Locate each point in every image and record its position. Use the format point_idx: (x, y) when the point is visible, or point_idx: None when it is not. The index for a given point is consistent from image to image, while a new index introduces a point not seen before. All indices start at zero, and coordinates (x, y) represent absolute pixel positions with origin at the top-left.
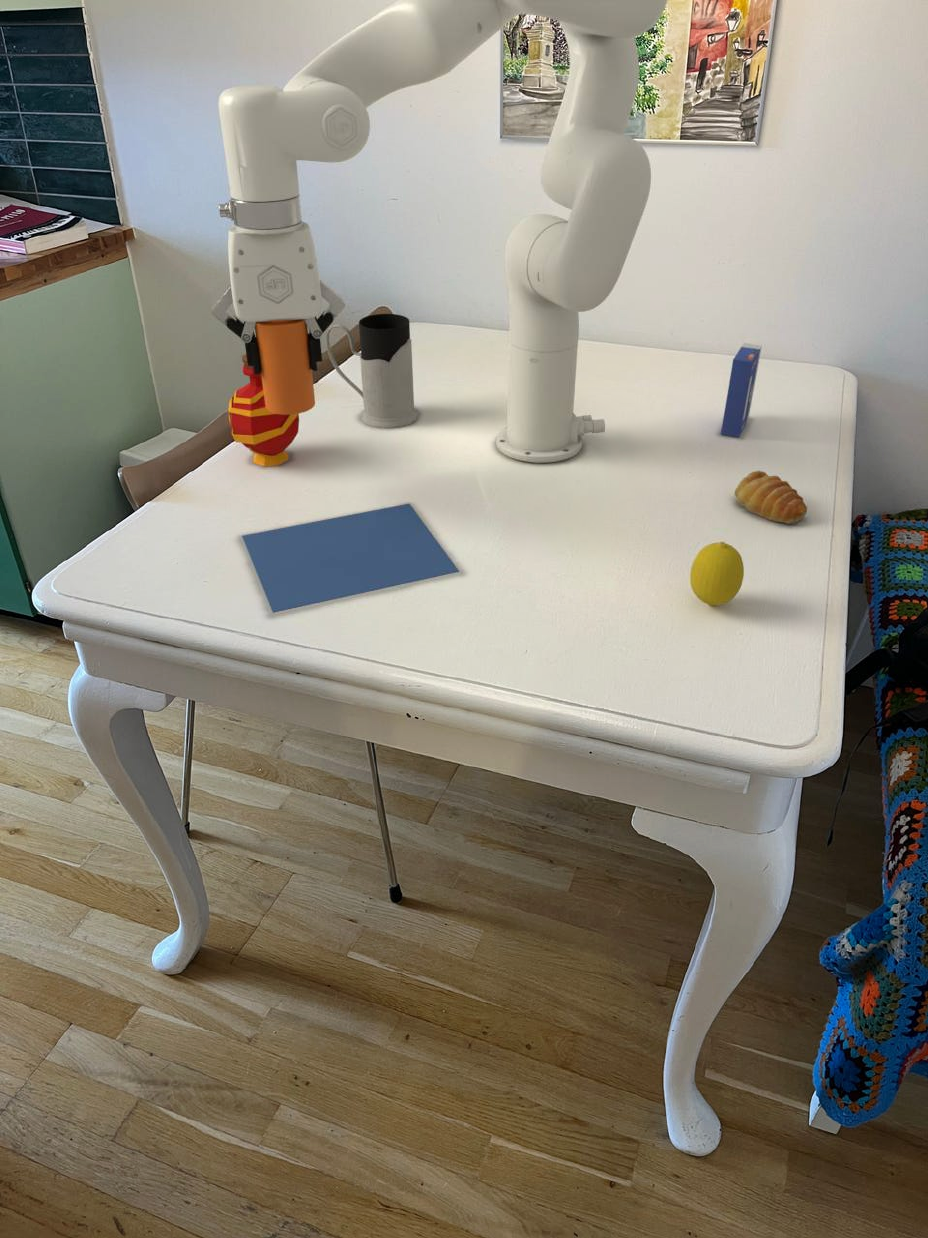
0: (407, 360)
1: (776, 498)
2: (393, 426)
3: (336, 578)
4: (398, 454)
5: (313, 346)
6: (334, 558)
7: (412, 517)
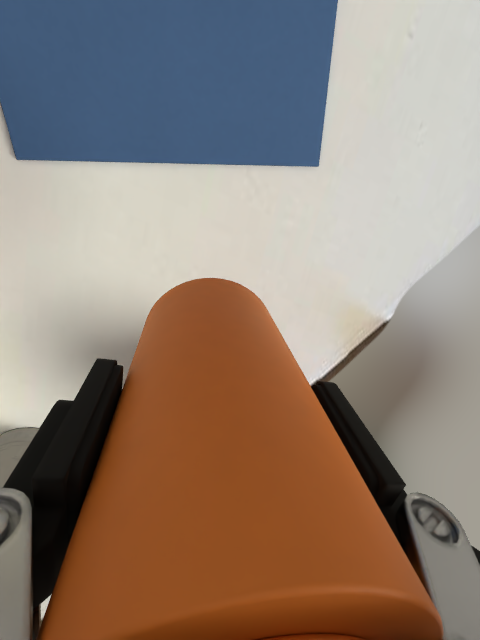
0: None
1: None
2: (30, 429)
3: None
4: (28, 350)
5: (63, 438)
6: None
7: (12, 93)
